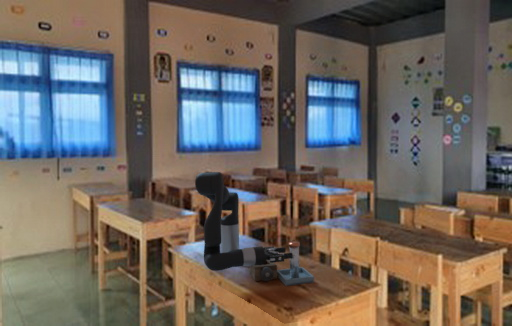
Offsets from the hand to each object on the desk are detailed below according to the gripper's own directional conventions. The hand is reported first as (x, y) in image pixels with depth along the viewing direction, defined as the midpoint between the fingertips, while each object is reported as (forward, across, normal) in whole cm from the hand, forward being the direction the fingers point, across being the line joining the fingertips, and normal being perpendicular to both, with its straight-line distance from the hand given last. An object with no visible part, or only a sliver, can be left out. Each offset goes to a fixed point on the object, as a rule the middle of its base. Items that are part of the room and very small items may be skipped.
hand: (288, 252), depth 176 cm
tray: (+3, 0, +12) cm, 12 cm away
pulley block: (-9, +7, +12) cm, 17 cm away
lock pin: (+2, 0, +11) cm, 11 cm away
